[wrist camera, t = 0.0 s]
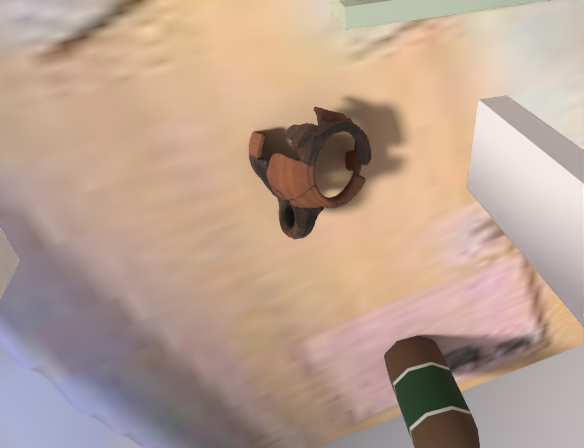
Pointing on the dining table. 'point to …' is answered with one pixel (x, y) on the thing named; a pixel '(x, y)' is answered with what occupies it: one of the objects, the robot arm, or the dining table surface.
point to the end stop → (408, 10)
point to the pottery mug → (308, 170)
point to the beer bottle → (429, 396)
